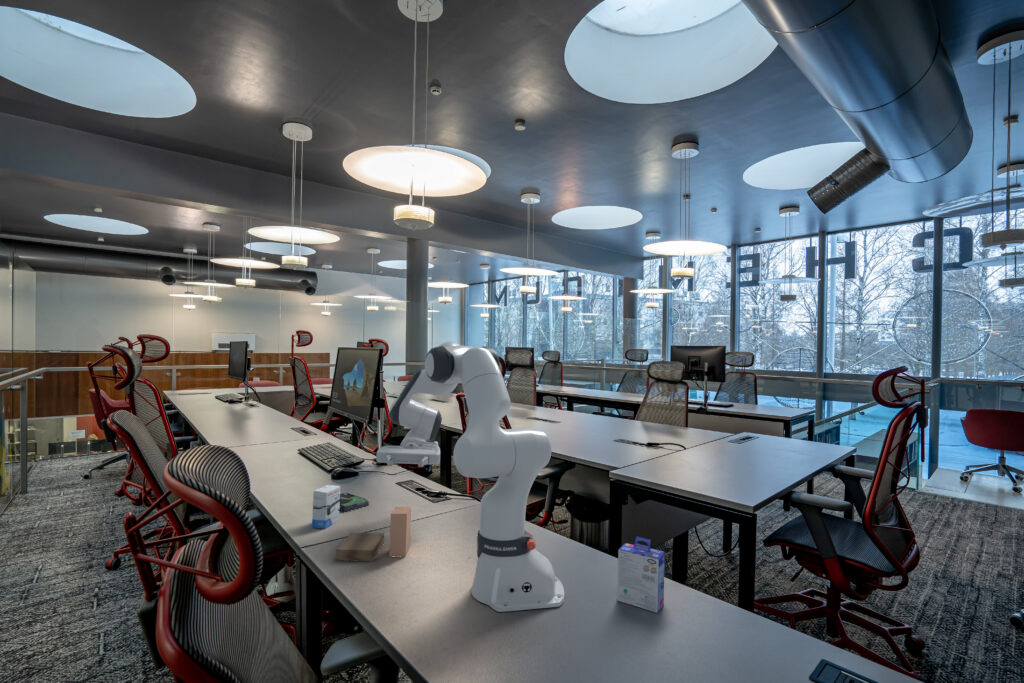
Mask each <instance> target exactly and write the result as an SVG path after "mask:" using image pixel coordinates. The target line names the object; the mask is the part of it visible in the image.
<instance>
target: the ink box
mask: <svg viewBox="0 0 1024 683" xmlns="http://www.w3.org/2000/svg"><path fill="white" fill-rule="evenodd" d="M340 494H341V485H340V486H339V485H333V484H326V485H323V486H322V487H320V488H317V489H314V491H313V495H312V496H313V497H312V517H311V518H312V519H311V528H314V529H321V528H322V529H323V530H325V528H326V529H327V528H329V527H330V526H332V525H334V524H335V522H336V523H337V522H339V521H340V511H339V507H340Z"/></svg>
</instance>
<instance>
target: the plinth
mask: <svg viewBox="0 0 1024 683" xmlns="http://www.w3.org/2000/svg"><path fill="white" fill-rule="evenodd" d="M383 544H384V545H385V533H384V532H383V533H379V532H377V533H376V532H375V533H374V532H372V533H371V532H350V533H349V535H348V536H346V538H345V539H344V540H343V541H342V542H341V543H340V545H339V546H338V547H337V548H336V551H335V552H336V556H335V557H336V558H335V561H336V560H344V561H343V562H349V560H352V561H351V562H354V561H353V560H358V561H357V562H374V561H375V559H374V558H376V557H377V556H378V555H379V553H378V552H380V551H381V550H382V548H383V546H384V545H383ZM381 547H382V548H381ZM379 550H380V551H379ZM376 555H377V556H376ZM345 560H346V561H345Z"/></svg>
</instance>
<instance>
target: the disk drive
mask: <svg viewBox="0 0 1024 683" xmlns="http://www.w3.org/2000/svg"><path fill="white" fill-rule="evenodd" d="M366 506H367V507H369V506H370V501H369V500H368V499H366V498H365V497H364V498H363V497H361V496H358V495H354V494H352V493H349V492H343V493H340V507H339V510H340V511H339V512H342V511H343V512H342V513H344V512H346V513H349V512H352V511H351V510H353V511H356V510H359V508H360V509H362V507H363V508H366ZM355 509H356V510H355ZM348 511H349V512H348Z"/></svg>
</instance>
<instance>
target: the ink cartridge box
mask: <svg viewBox="0 0 1024 683" xmlns="http://www.w3.org/2000/svg"><path fill="white" fill-rule="evenodd" d="M651 541H652V540H651V539H649V538H645V537H641V536H636V537H635V541H634V544H632V543H624V544H622V546H621V547H620V548H619V549H618V550H617V554H618V555H617V556H618V557H617V587H616V589H617V592H616V594H617V595H616V601H618V602H621V603H625V604H628V605H630V606H634V607H637V608H641V609H643V610H646V611H651V612H653V613H659V611H660V610H661V609H662V607H663V606H664V605H665V556H666V555H665V551H662V550H659V549H654V548H651ZM638 542H645V544H647V545H645V544H641V543H638Z"/></svg>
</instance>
